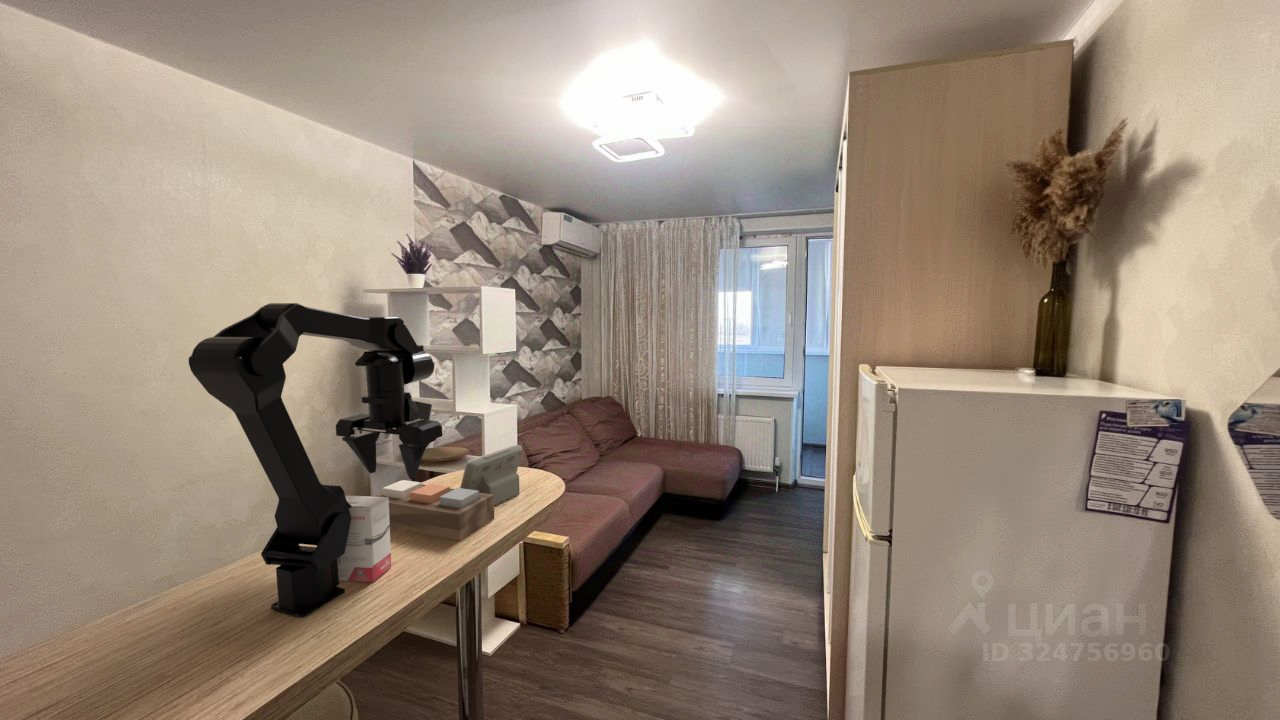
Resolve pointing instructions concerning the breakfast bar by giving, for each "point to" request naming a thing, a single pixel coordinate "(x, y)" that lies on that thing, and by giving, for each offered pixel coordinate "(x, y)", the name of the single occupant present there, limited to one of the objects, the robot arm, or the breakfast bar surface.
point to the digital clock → (494, 474)
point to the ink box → (366, 540)
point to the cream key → (401, 489)
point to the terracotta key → (429, 493)
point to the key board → (440, 516)
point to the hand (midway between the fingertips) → (392, 475)
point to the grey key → (459, 498)
